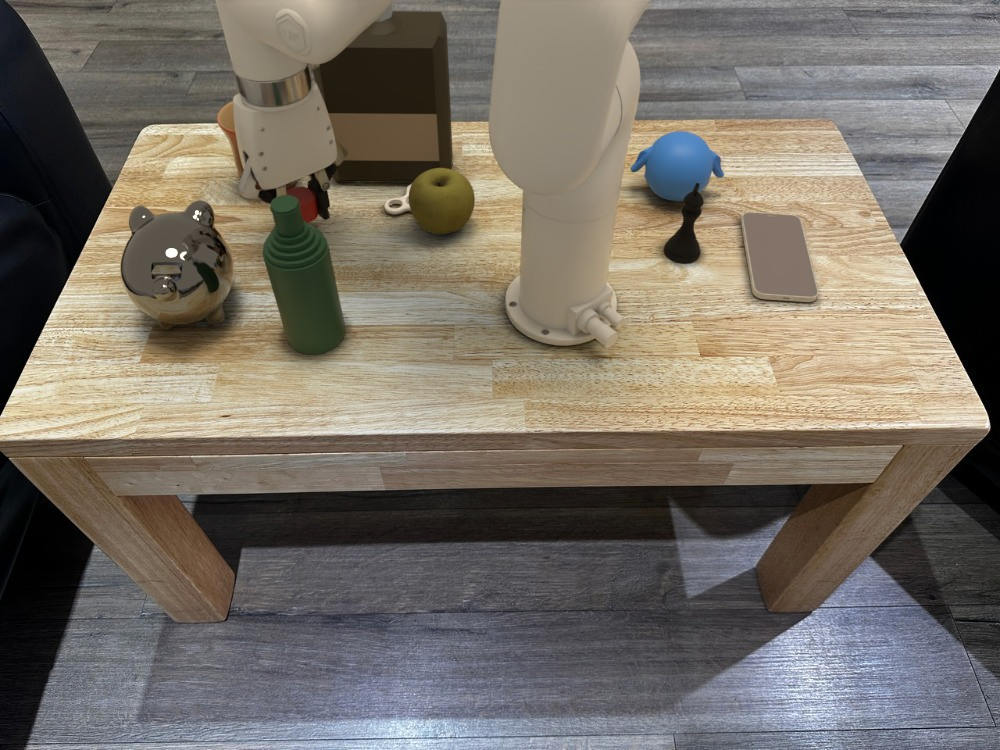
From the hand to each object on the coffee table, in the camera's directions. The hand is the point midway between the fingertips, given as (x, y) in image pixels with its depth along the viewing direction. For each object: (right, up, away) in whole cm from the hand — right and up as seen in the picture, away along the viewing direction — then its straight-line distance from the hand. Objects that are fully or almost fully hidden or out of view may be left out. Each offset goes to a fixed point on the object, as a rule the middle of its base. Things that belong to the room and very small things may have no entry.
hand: (305, 219), depth 96 cm
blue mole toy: (+47, +6, +9) cm, 48 cm away
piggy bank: (-11, -11, -7) cm, 17 cm away
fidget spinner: (+12, +3, +6) cm, 14 cm away
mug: (-5, +6, +8) cm, 11 cm away
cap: (0, +2, -2) cm, 3 cm away
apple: (+17, 0, +3) cm, 17 cm away
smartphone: (+57, -5, -1) cm, 57 cm away
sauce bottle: (+4, -14, -9) cm, 17 cm away
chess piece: (+46, -4, 0) cm, 46 cm away
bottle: (+9, +9, +11) cm, 17 cm away
